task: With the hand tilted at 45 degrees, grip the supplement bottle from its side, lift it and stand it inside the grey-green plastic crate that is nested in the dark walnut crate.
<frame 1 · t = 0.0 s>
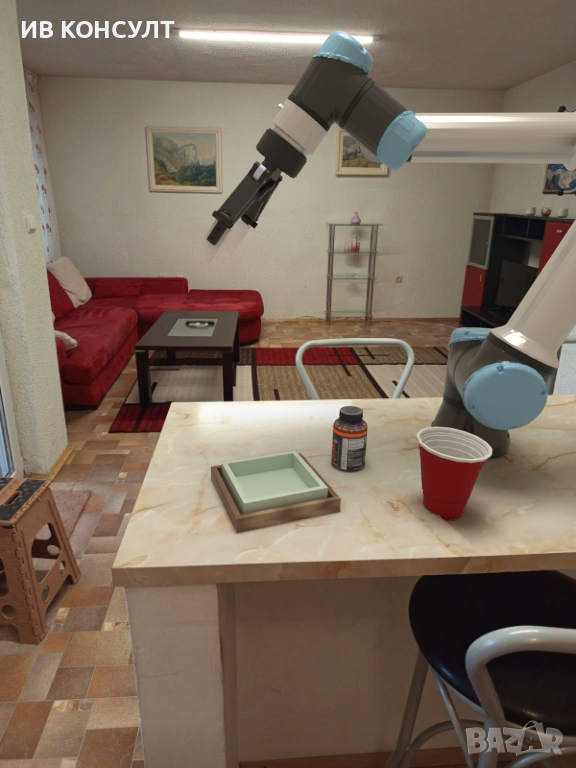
hand: (212, 256, 84), 36 cm above the table, tool tilted 35°, fingers open, 13 cm apart
plastic cup: (444, 511, 79), on the table
supplement bottle: (347, 469, 91), on the table
walnut crate: (272, 498, 81), on the table
grey-green crate: (272, 494, 81), resting on walnut crate
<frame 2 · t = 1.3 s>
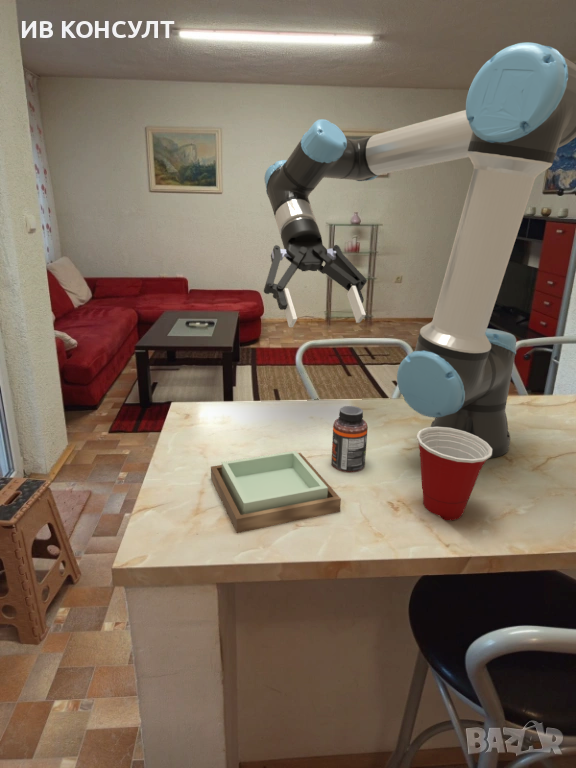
hand: (328, 321, 93), 24 cm above the table, tool tilted 45°, fingers open, 13 cm apart
nothing on the table moved.
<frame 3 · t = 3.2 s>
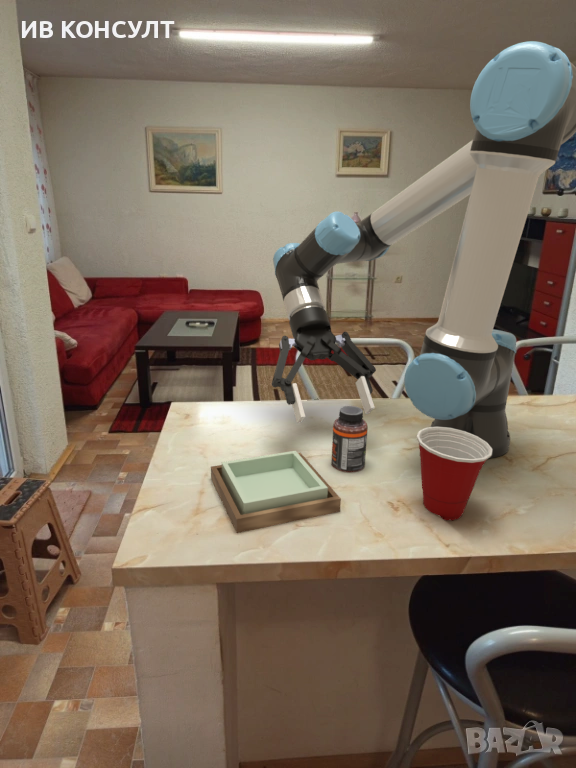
hand: (336, 415, 92), 9 cm above the table, tool tilted 45°, fingers open, 13 cm apart
nothing on the table moved.
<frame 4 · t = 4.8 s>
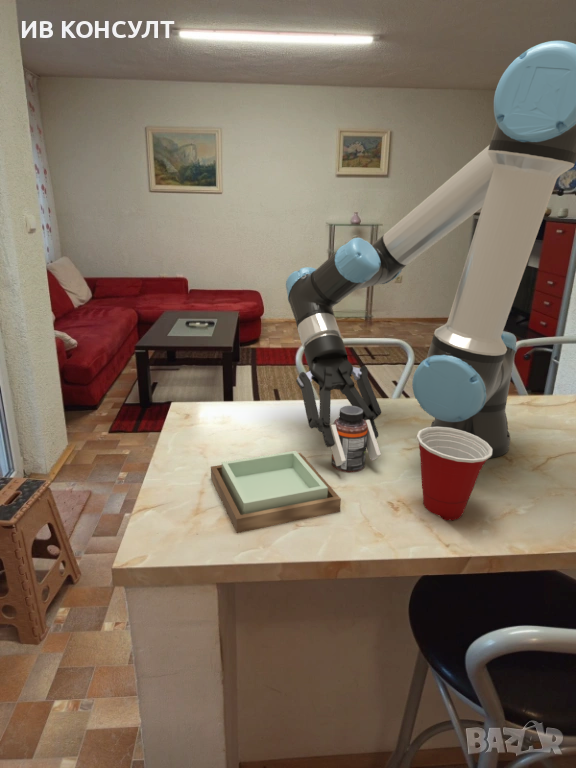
hand: (358, 460, 87), 3 cm above the table, tool tilted 45°, fingers closed on supplement bottle, 6 cm apart
supplement bottle: (347, 469, 91), on the table, touching gripper
everything else where it was.
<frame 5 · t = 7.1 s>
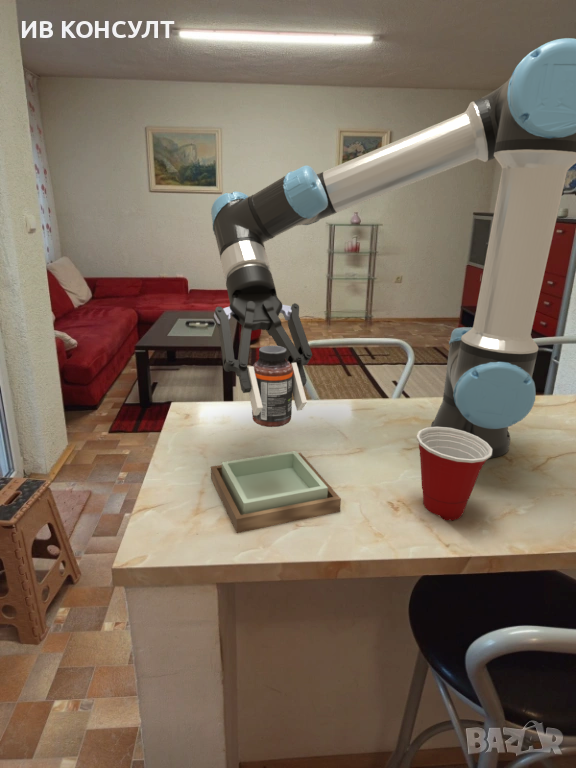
hand: (280, 408, 73), 17 cm above the table, tool tilted 45°, fingers closed on supplement bottle, 6 cm apart
supplement bottle: (271, 421, 78), point 13 cm above the table, touching gripper
everything else where it was.
when the fingers open (7 cm above the table, at t = 9.2 s): supplement bottle drops 2 cm, resting on grey-green crate.
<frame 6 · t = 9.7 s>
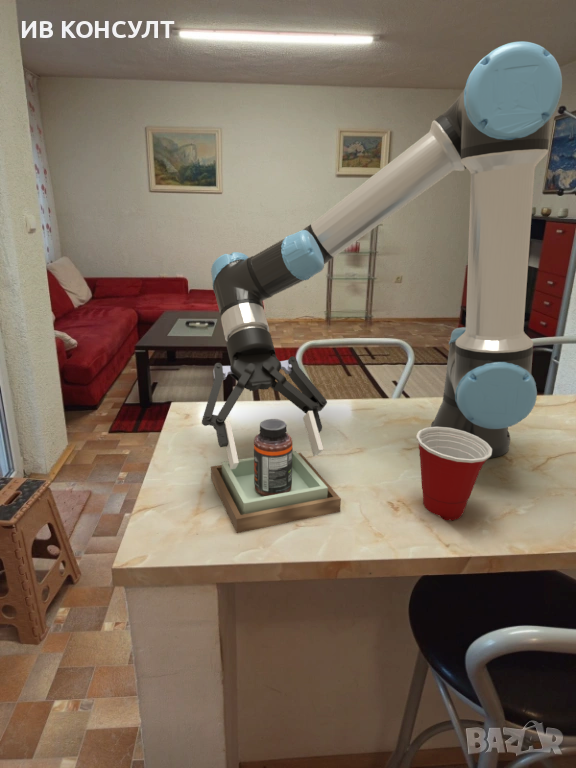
hand: (277, 459, 77), 8 cm above the table, tool tilted 45°, fingers open, 13 cm apart
supplement bottle: (273, 489, 81), point 1 cm above the table, touching grey-green crate
everything else where it was.
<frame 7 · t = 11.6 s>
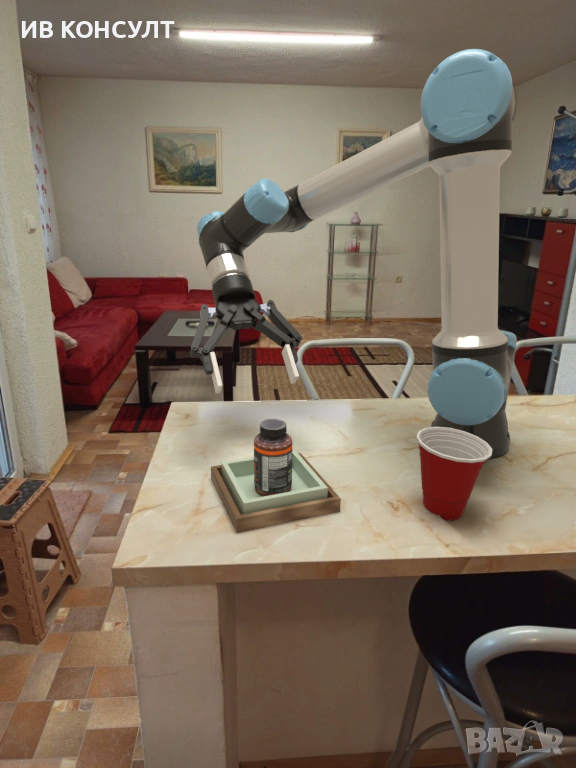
hand: (258, 384, 87), 15 cm above the table, tool tilted 45°, fingers open, 13 cm apart
nothing on the table moved.
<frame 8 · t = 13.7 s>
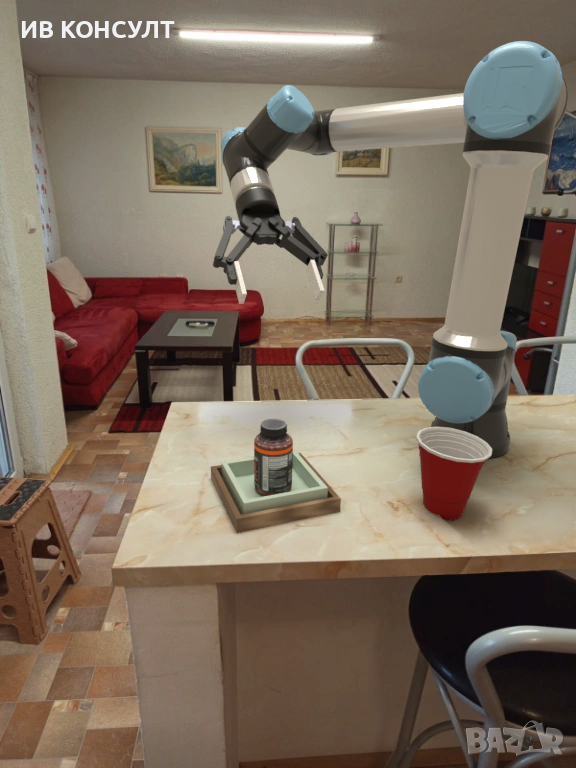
hand: (282, 297, 85), 30 cm above the table, tool tilted 45°, fingers open, 13 cm apart
nothing on the table moved.
at the end: supplement bottle inside the target area on the grey-green crate (0.2 cm from its centre), point 0.6 cm above the grey-green crate's base; supplement bottle tilted 0°; the gripper is holding nothing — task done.
